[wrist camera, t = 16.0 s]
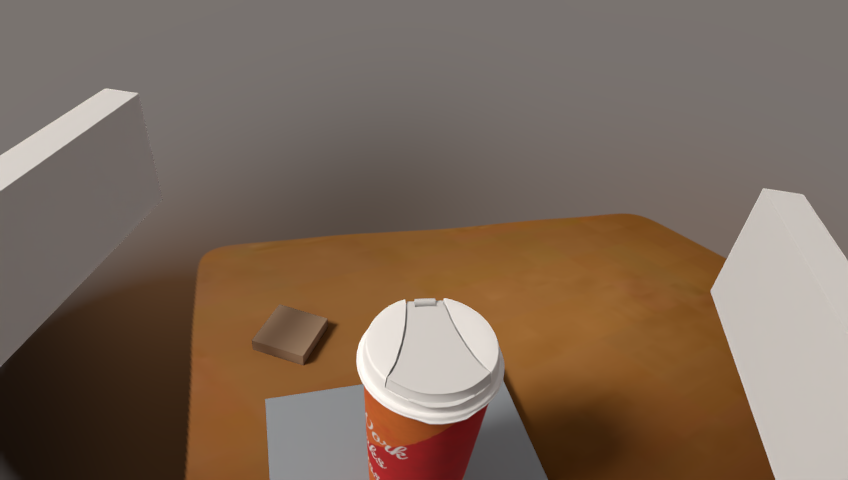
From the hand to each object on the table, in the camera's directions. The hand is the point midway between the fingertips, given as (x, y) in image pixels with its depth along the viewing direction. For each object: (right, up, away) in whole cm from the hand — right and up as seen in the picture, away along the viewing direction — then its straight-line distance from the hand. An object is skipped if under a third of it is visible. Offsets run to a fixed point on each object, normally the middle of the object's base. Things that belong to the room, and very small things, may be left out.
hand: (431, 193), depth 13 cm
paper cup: (-1, -17, +25) cm, 31 cm away
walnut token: (-11, -10, +36) cm, 39 cm away
